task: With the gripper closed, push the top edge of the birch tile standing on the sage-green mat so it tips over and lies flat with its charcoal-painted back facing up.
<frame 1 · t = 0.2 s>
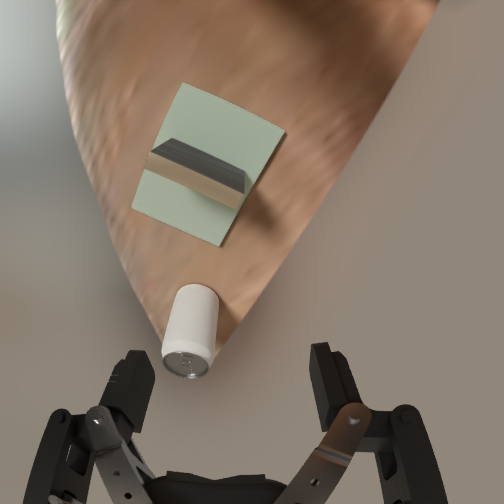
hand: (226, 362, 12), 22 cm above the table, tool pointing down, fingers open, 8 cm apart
tile: (204, 161, 28), point 1 cm above the table, touching mat
mat: (201, 167, 29), on the table
can: (197, 298, 40), on the table
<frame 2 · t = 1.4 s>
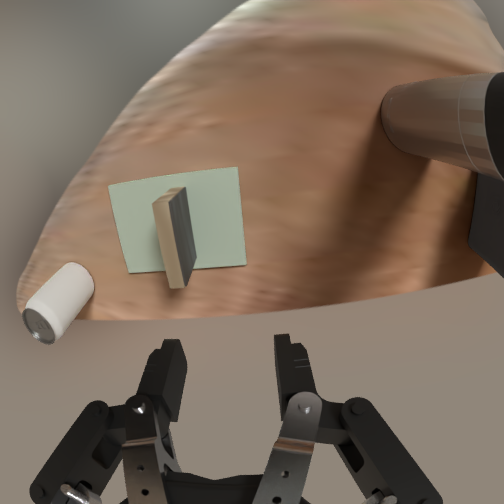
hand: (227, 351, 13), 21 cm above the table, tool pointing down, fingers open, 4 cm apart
tile: (183, 224, 32), point 1 cm above the table, touching mat
mat: (176, 223, 32), on the table
storage bin: (490, 196, 31), on the table
can: (79, 279, 36), on the table
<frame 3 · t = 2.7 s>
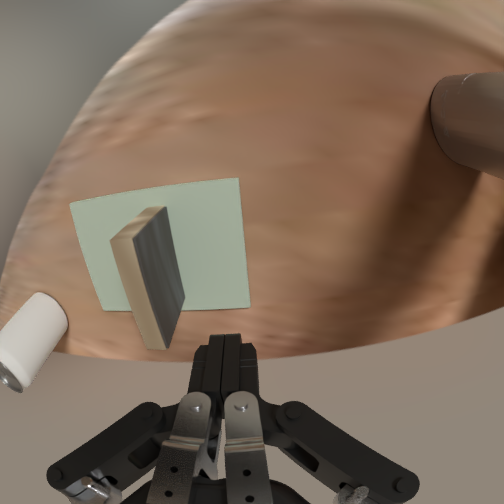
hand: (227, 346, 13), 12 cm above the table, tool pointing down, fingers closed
tile: (165, 255, 23), point 1 cm above the table, touching mat
mat: (157, 253, 24), on the table
can: (51, 310, 28), on the table
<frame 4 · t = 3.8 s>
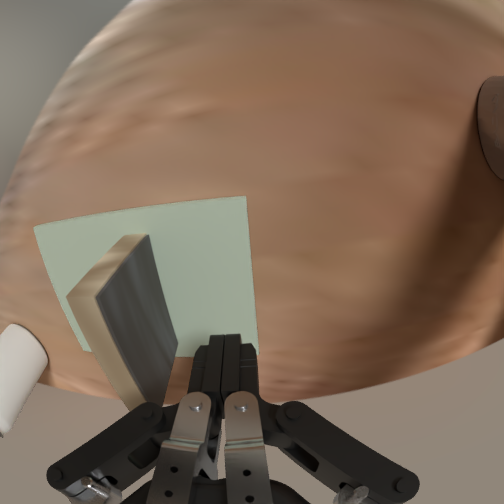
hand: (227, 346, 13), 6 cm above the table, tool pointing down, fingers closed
tile: (151, 295, 18), point 1 cm above the table, touching mat
mat: (140, 291, 18), on the table
can: (29, 343, 22), on the table
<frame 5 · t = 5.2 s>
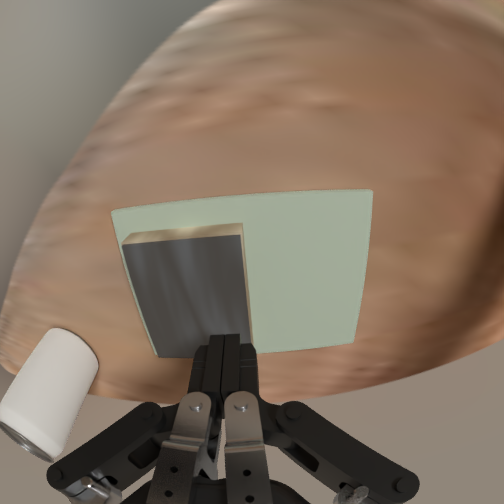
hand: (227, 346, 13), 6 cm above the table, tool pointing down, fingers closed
tile: (248, 296, 17), point 1 cm above the table, tilted 90°, touching mat
mat: (246, 284, 18), on the table
can: (73, 349, 22), on the table
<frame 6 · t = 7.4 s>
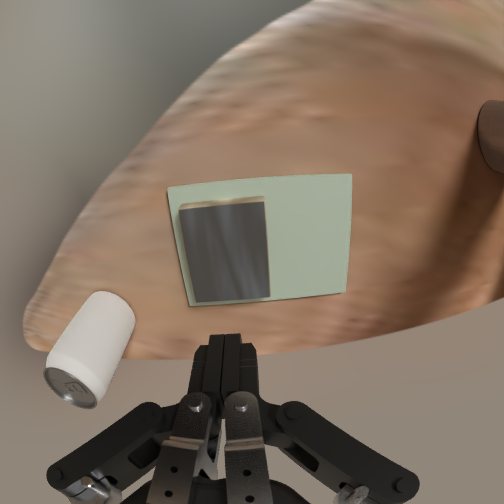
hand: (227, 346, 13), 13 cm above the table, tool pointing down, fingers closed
tile: (267, 248, 24), point 1 cm above the table, tilted 90°, touching mat
mat: (265, 242, 25), on the table
can: (112, 311, 28), on the table
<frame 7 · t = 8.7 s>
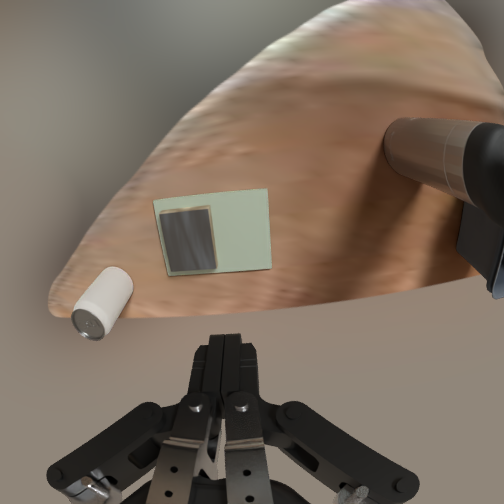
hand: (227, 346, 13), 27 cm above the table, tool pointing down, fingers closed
tile: (213, 237, 38), point 1 cm above the table, tilted 90°, touching mat
mat: (213, 233, 39), on the table
storage bin: (477, 208, 38), on the table
can: (117, 281, 43), on the table
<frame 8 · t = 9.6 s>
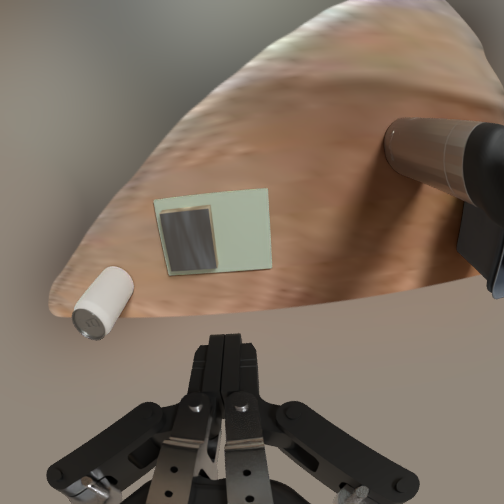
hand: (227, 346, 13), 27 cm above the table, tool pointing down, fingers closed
tile: (214, 237, 38), point 1 cm above the table, tilted 90°, touching mat
mat: (214, 233, 39), on the table
storage bin: (477, 208, 38), on the table
can: (118, 281, 43), on the table
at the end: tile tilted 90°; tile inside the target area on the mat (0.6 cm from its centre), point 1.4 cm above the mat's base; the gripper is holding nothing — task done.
